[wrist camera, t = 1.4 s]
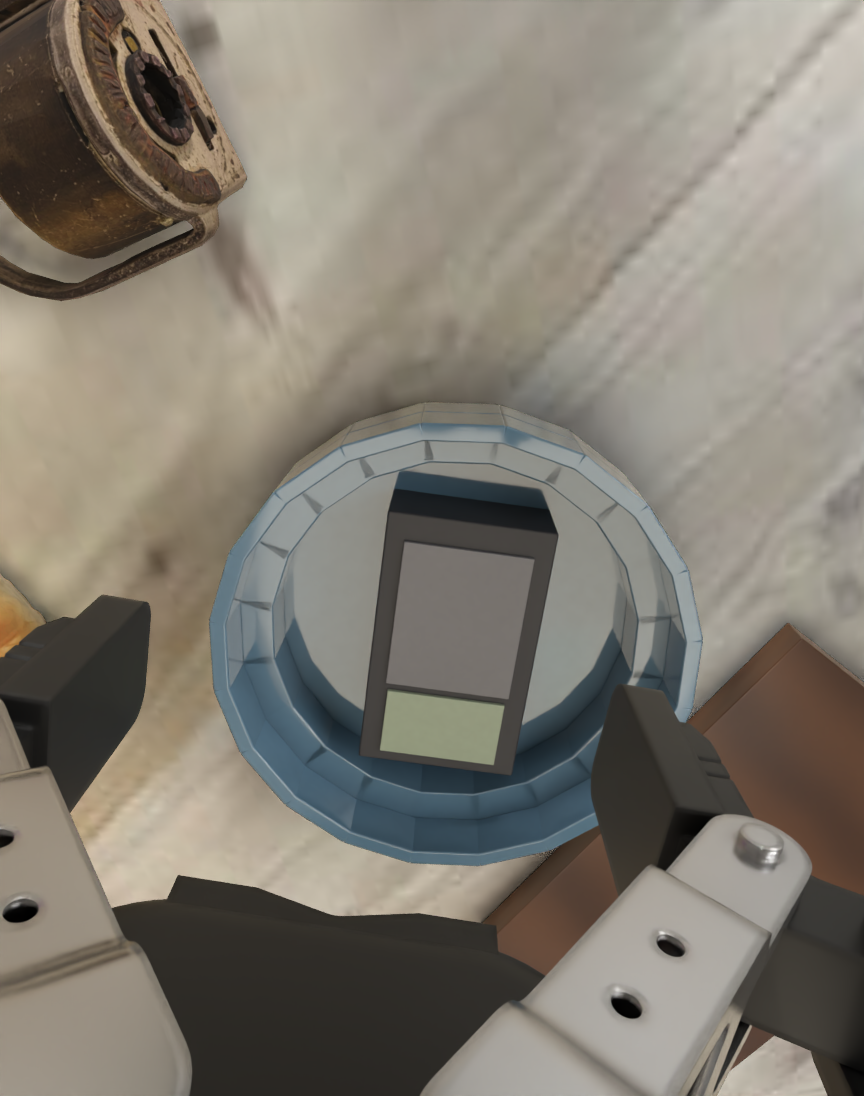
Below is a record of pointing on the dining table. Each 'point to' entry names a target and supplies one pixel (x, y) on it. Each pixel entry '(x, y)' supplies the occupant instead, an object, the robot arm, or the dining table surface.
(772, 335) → the dining table surface
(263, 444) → the dining table surface
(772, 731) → the board
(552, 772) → the bowl
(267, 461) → the dining table surface
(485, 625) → the calculator
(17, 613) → the pastry
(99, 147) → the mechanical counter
